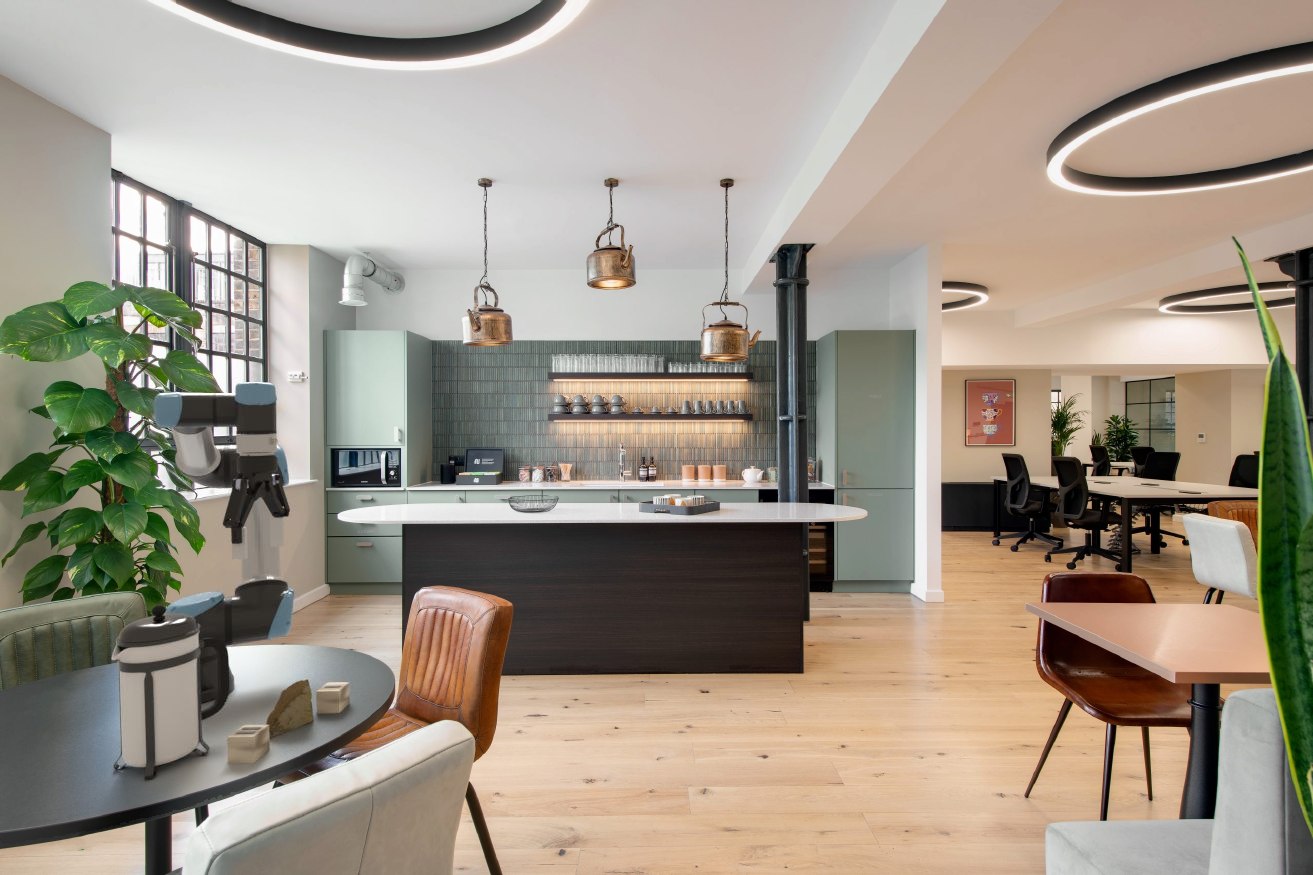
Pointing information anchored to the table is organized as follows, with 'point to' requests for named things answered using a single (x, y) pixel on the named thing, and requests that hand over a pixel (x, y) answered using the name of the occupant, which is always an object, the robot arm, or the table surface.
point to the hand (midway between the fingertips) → (259, 552)
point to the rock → (291, 709)
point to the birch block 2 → (333, 697)
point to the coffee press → (164, 689)
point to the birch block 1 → (248, 743)
